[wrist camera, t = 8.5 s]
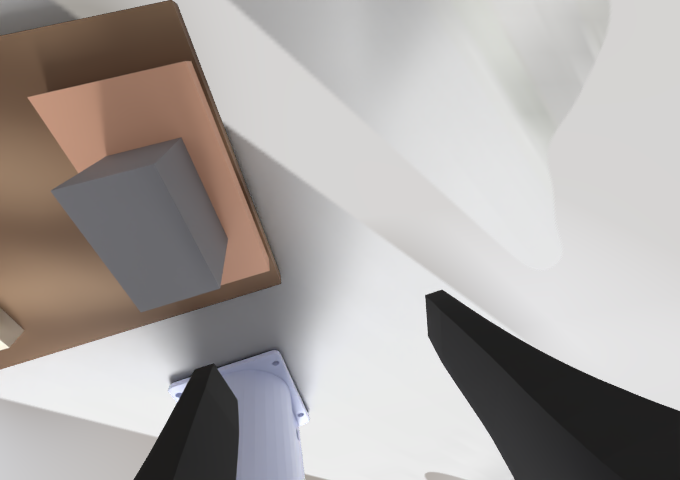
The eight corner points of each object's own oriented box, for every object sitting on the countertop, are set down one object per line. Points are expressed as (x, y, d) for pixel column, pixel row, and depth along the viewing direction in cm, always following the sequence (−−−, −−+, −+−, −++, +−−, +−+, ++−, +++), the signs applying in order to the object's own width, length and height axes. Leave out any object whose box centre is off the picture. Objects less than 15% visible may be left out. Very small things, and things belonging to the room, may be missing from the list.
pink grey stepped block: (269, 258, 18) (273, 323, 13) (170, 287, 17) (140, 365, 13) (191, 60, 13) (156, 60, 8) (46, 94, 12) (-74, 112, 8)
